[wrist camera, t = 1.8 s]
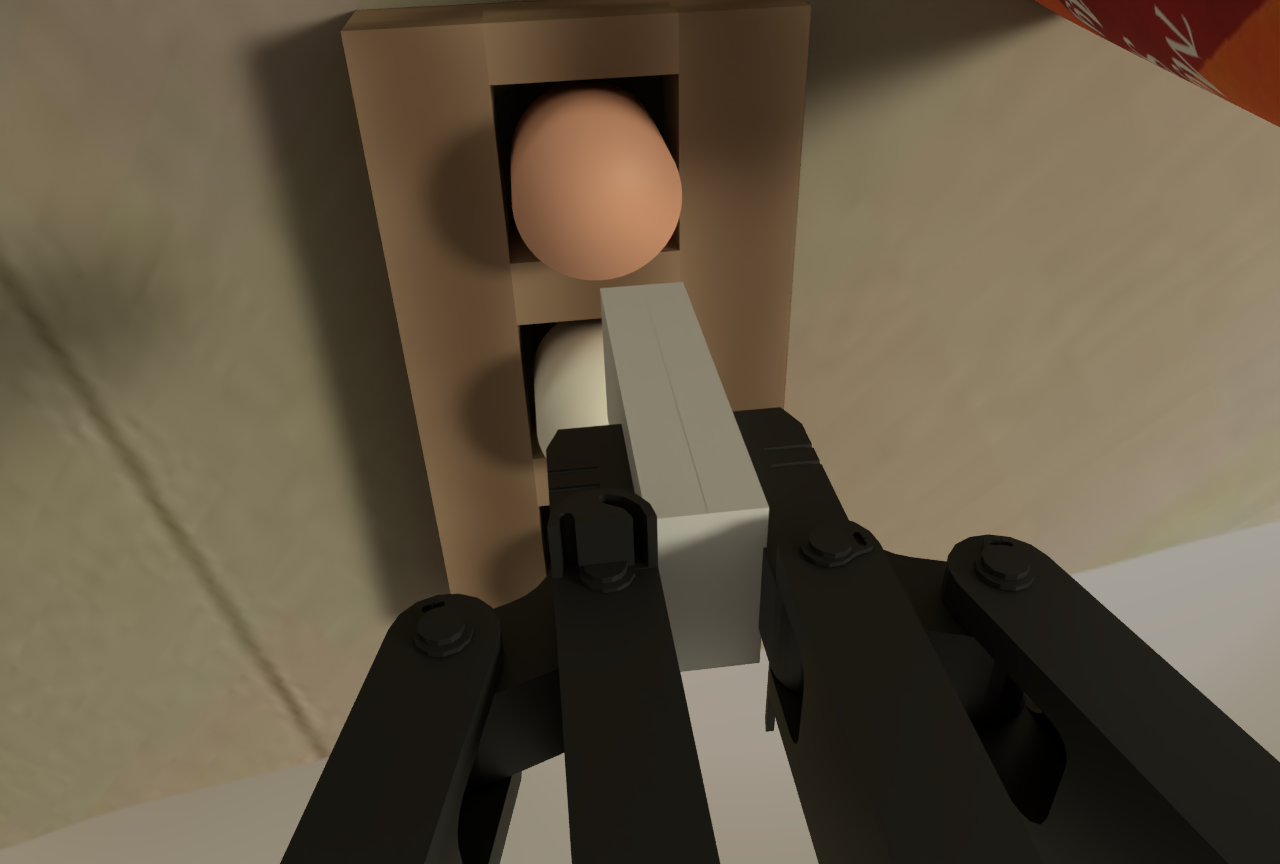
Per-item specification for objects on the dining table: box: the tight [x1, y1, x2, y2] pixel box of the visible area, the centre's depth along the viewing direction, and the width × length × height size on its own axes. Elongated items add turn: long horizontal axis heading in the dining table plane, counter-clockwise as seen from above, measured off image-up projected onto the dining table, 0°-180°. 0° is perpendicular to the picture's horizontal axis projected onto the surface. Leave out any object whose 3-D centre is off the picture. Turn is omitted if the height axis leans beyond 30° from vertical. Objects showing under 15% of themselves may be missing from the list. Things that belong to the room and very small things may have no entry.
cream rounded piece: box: [533, 318, 609, 457], centre depth 29 cm, size 4×4×4 cm
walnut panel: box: [340, 0, 811, 609], centre depth 31 cm, size 12×22×3 cm, turn 2°
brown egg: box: [510, 80, 682, 280], centre depth 25 cm, size 4×4×4 cm
